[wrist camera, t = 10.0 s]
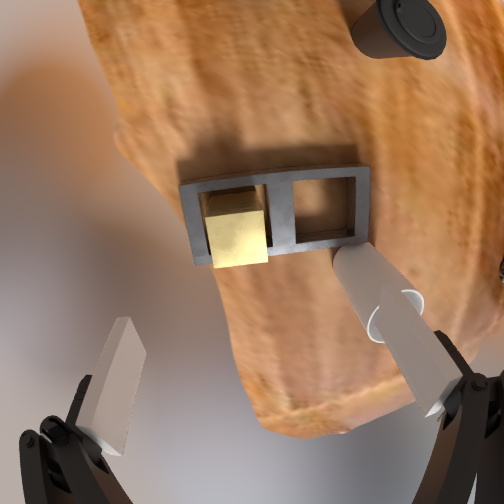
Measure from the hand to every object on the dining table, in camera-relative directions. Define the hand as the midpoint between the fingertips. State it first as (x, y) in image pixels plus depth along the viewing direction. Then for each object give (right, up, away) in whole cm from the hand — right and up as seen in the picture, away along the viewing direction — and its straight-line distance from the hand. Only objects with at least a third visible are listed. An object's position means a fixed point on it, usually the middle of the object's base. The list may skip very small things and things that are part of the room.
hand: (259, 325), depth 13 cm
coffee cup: (+13, +28, +9) cm, 32 cm away
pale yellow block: (-2, +8, +17) cm, 19 cm away
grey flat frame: (+3, +9, +17) cm, 20 cm away
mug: (+14, +1, +22) cm, 26 cm away
